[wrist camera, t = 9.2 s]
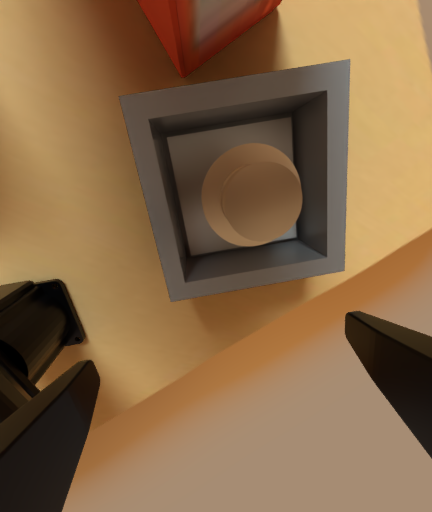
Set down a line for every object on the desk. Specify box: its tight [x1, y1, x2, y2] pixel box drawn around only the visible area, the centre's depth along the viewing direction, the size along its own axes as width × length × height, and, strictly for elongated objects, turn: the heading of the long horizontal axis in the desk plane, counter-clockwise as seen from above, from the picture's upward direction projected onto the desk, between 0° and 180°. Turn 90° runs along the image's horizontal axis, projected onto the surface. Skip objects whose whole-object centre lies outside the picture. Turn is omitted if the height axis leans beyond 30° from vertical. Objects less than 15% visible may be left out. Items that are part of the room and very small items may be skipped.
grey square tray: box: [119, 59, 350, 302], centre depth 17 cm, size 12×12×6 cm
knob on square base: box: [167, 117, 303, 256], centre depth 15 cm, size 9×9×8 cm
